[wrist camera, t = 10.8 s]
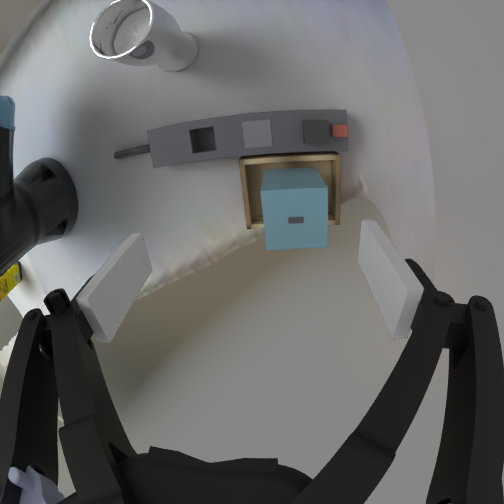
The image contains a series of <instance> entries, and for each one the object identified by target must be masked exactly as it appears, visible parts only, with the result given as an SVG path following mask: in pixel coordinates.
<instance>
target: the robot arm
mask: <svg viewBox="0 0 504 504" xmlns="http://www.w3.org/2000/svg"><path fill="white" fill-rule="evenodd" d="M14 116H15V103H14V101H13V99H12V98H11V97H9V96H0V277H1V276H2V275H3V274H4V273H5V272H6V271H7V270H8V269H9V268H10V267H11V266H12V265H14V264H15V263H16V262H17V261H18V260H19V259H20V258H21V257H23V256H24V255H25V254H26V253H27V252H28V251H30V250H31V249H32V248H33V247H34V246H36V245H38V244H42V243H46V242H49V241H53V240H57V239H59V238H61V237H62V236H64V235H65V234H66V233H68V232H69V231H70V230H71V229H72V227H73V226H74V224H75V221H76V218H77V211H78V203H77V195H76V191H75V188H74V185H73V182H72V180H71V178H70V176H69V174H68V173H67V171H66V170H65V169H64V168H63V167H62V166H61V165H60V164H59V163H58V162H56V161H54V160H52V159H48V158H43V159H40V160H37V161H35V162H32V163H31V164H29V165H28V166H27V167H26V168H25V169H24V170H23V171H22V172H21V173H20V174H19V175H18V176H17V177H16V178H15V179H14V180H13V142H14V131H15V126H14ZM358 263H359V265H360V267H361V269H362V271H363V274H364V276H365V278H366V280H367V282H368V284H369V286H370V289H371V291H372V293H373V295H374V297H375V300H376V302H377V304H378V307H379V309H380V311H381V314H382V316H383V319H384V321H385V323H386V325H387V328H388V331H389V333H390V336H391V338H392V340H396V339H402V338H407V337H408V334H409V331H410V329H412V334H411V336H410V338H409V340H408V342H407V344H406V347H405V348H404V350H403V352H402V354H401V356H400V358H399V360H398V362H397V364H396V365H395V367H394V369H393V371H392V373H391V374H390V376H389V378H388V380H387V382H386V383H385V385H384V387H383V388H382V390H381V392H380V393H379V395H378V397H377V398H376V400H375V401H374V403H373V404H372V406H371V407H370V409H369V411H368V412H367V413H366V415H365V416H364V418H363V419H362V421H361V422H360V424H359V425H358V427H357V428H356V429H355V431H354V432H353V433H352V434H351V435H350V436H349V437H348V438H347V440H346V441H345V442H344V443H343V445H342V446H341V448H340V449H339V450H338V451H337V452H336V454H335V455H334V456H333V457H332V458H331V460H330V461H329V462H328V463H327V464H326V466H325V467H324V468H323V469H322V470H321V471H320V473H319V474H318V475H317V476H316V477H315V478H314V479H311V478H310V477H308V476H307V475H306V474H304V473H302V472H300V471H298V470H296V469H294V468H291V467H287V466H283V465H278V459H277V458H267V459H266V458H265V459H264V458H242V459H235V460H229V461H222V462H215V463H208V462H205V461H202V460H199V459H196V458H194V457H191V456H189V455H186V454H183V453H181V452H179V451H173V450H168V449H162V448H157V447H152V446H150V449H149V453H142V454H137V453H136V452H135V451H134V449H133V448H132V446H131V444H130V442H129V440H128V438H127V436H126V433H125V431H124V429H123V427H122V424H121V422H120V420H119V417H118V415H117V412H116V410H115V407H114V405H113V402H112V400H111V397H110V394H109V391H108V388H107V386H106V383H105V380H104V377H103V374H102V371H101V367H100V364H99V361H98V358H97V354H96V351H95V347H94V343H93V342H92V340H91V336H92V335H93V333H94V335H95V336H96V338H97V340H98V341H99V342H106V343H110V342H111V340H112V338H113V337H114V335H115V333H116V331H117V330H118V328H119V326H120V324H121V322H122V321H123V319H124V317H125V315H126V314H127V312H128V310H129V308H130V307H131V305H132V303H133V302H134V300H135V298H136V297H137V295H138V293H139V292H140V290H141V288H142V287H143V285H144V283H145V282H146V280H147V278H148V277H149V275H150V274H151V272H152V267H151V263H150V260H149V257H148V253H147V250H146V246H145V243H144V239H143V236H142V233H132V234H130V236H129V237H128V238H127V239H126V240H125V241H124V242H123V243H122V244H121V245H120V246H119V248H118V249H117V250H116V251H115V252H114V253H113V254H112V255H111V256H110V258H109V259H108V260H107V261H106V262H105V263H104V265H103V266H102V267H101V268H100V269H99V270H98V272H97V273H96V274H94V275H93V276H92V277H90V278H89V279H88V281H87V282H86V283H85V285H83V287H82V288H81V289H80V290H79V292H78V293H77V294H76V295H75V297H74V298H73V299H72V300H71V302H70V300H69V298H68V296H67V294H66V292H65V290H64V289H62V288H61V289H56V290H54V291H52V292H50V293H49V294H48V295H47V296H46V297H45V298H44V303H45V305H46V307H47V309H48V310H49V312H50V315H45V316H44V315H43V313H42V311H41V310H40V309H39V308H36V309H33V310H30V311H29V312H27V314H26V315H25V316H24V318H23V321H22V323H21V326H20V329H19V332H18V335H17V338H16V341H15V344H14V347H13V350H12V353H11V357H10V360H9V364H8V367H7V371H6V375H5V379H4V384H3V388H2V393H1V398H0V504H364V502H365V501H366V500H367V498H368V497H369V496H370V495H371V493H372V492H373V490H374V489H375V487H376V486H377V485H378V483H379V482H380V480H381V479H382V477H383V476H384V475H385V473H386V471H387V470H388V468H389V467H390V465H391V463H392V462H393V460H394V458H395V455H396V454H395V453H396V450H397V448H398V447H399V445H400V443H401V441H402V440H403V438H404V436H405V434H406V432H407V430H408V429H409V427H410V424H411V423H412V421H413V419H414V417H415V415H416V413H417V411H418V408H419V406H420V404H421V402H422V400H423V398H424V395H425V393H426V391H427V388H428V386H429V383H430V381H431V378H432V376H433V373H434V371H435V368H436V366H437V363H438V360H439V357H440V354H441V351H442V348H449V375H448V390H447V400H446V409H445V418H444V425H443V431H442V437H441V442H440V447H439V452H438V456H437V461H436V465H435V469H434V473H433V477H432V480H431V484H430V488H429V491H428V495H427V500H426V504H504V497H503V486H502V471H503V464H504V366H503V358H502V350H501V344H500V339H499V333H498V327H497V323H496V318H495V314H494V309H493V306H492V304H491V303H490V302H489V300H488V299H486V298H484V297H481V296H472V297H471V298H470V300H469V302H468V304H459V303H455V302H454V300H453V298H452V297H451V296H450V295H448V294H446V293H445V292H441V291H437V289H436V288H435V287H434V285H433V284H432V282H431V281H430V279H429V278H428V277H427V276H426V274H425V273H424V271H423V270H422V268H421V267H420V266H419V264H417V263H416V262H415V261H413V260H412V259H403V257H402V256H401V254H400V253H399V252H398V250H397V249H396V248H395V246H394V245H393V244H392V242H391V241H390V240H389V238H388V237H387V236H386V234H385V233H384V232H383V231H382V229H381V228H380V227H379V226H378V224H377V223H376V222H375V220H362V222H361V234H360V245H359V253H358ZM40 349H41V351H40ZM58 398H59V400H60V406H61V411H62V416H63V420H64V427H61V428H60V429H59V437H60V441H61V445H62V449H63V453H64V456H65V460H66V463H67V467H68V469H69V473H70V476H71V479H72V482H73V485H74V487H75V490H76V492H75V493H73V494H72V495H70V496H68V497H67V498H65V497H64V495H63V494H62V493H60V492H59V491H58V488H57V485H58V446H57V419H58Z"/></svg>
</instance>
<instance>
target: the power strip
mask: <svg viewBox="0 0 504 504" xmlns="http://www.w3.org/2000/svg"><path fill="white" fill-rule="evenodd" d="M147 133H148V139H149V145H145V146H140V147H136V148H132V149H128V150H123V151H120V152H116V153H115V154H114V158H116V159H119V158H123V157H127V156H131V155H136V154H140V153H145V152H150V151H151V156H152V162H153V167H154V168H156V167H162V166H168V165H174V164H181V163H188V162H195V161H202V160H210V159H218V158H227V157H236V156H247V155H259V154H272V153H289V152H313V151H348V125H347V114H346V110H293V111H275V112H262V113H251V114H241V115H232V116H225V117H217V118H210V119H204V120H198V121H192V122H186V123H181V124H176V125H171V126H166V127H161V128H157V129H152V130H148V131H147Z"/></svg>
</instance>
